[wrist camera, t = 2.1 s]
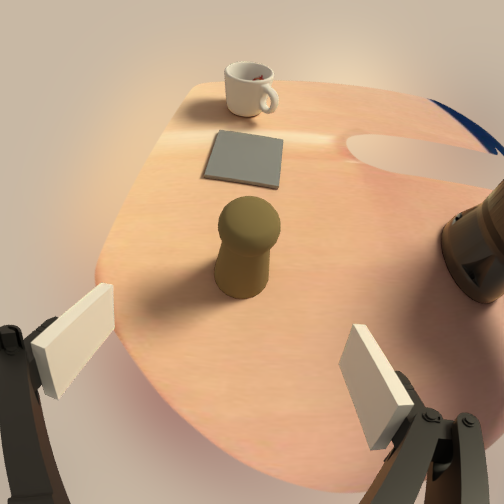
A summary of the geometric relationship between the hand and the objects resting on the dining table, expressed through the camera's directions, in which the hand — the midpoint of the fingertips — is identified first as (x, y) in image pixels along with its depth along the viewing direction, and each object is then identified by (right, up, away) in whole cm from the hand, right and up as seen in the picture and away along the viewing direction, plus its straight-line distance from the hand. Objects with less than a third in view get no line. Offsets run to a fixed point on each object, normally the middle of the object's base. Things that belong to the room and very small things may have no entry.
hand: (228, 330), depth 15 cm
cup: (+1, +28, +33) cm, 43 cm away
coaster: (0, +18, +27) cm, 32 cm away
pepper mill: (0, +2, +18) cm, 18 cm away
